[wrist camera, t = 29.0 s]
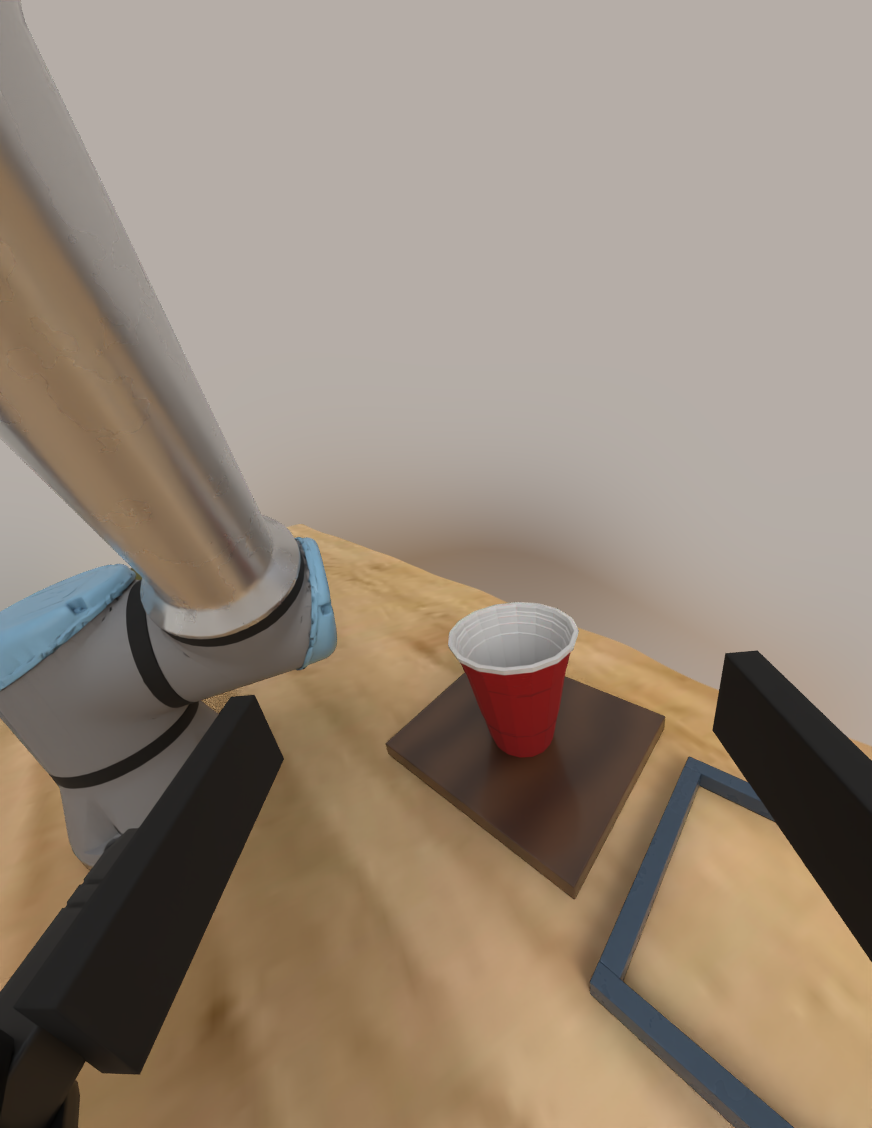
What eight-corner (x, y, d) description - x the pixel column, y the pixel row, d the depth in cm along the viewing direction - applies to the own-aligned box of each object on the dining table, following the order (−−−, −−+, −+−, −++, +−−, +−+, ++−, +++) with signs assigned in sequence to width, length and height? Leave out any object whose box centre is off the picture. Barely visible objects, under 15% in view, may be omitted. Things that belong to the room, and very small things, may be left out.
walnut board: (388, 754, 41) (384, 743, 41) (493, 656, 52) (492, 647, 52) (574, 900, 28) (573, 887, 27) (664, 727, 39) (665, 716, 38)
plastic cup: (553, 681, 45) (547, 585, 40) (603, 765, 35) (604, 651, 30) (456, 703, 44) (438, 609, 39) (479, 795, 34) (459, 684, 29)
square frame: (589, 993, 24) (589, 981, 23) (687, 768, 35) (688, 755, 34) (1235, 1589, 11) (1273, 1599, 11) (1065, 942, 22) (1078, 927, 22)
